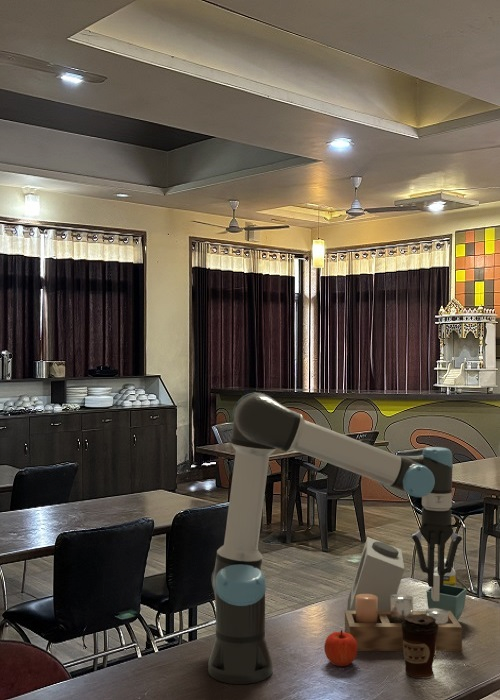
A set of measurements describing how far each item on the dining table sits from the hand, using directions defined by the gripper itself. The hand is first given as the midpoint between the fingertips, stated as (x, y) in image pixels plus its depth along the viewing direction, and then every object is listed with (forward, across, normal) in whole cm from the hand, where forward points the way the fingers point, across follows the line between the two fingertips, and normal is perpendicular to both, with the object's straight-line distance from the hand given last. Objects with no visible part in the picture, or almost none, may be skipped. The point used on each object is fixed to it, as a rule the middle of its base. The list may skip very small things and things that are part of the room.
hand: (435, 599), depth 203 cm
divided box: (+11, -8, 0) cm, 14 cm away
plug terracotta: (+7, -18, 0) cm, 19 cm away
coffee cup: (+11, -8, -20) cm, 24 cm away
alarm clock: (+12, -12, +22) cm, 28 cm away
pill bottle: (+11, +10, +35) cm, 38 cm away
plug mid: (+7, -8, 0) cm, 11 cm away
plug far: (+10, 0, 0) cm, 10 cm away
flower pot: (+11, +6, +15) cm, 20 cm away
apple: (+12, -25, -14) cm, 31 cm away
